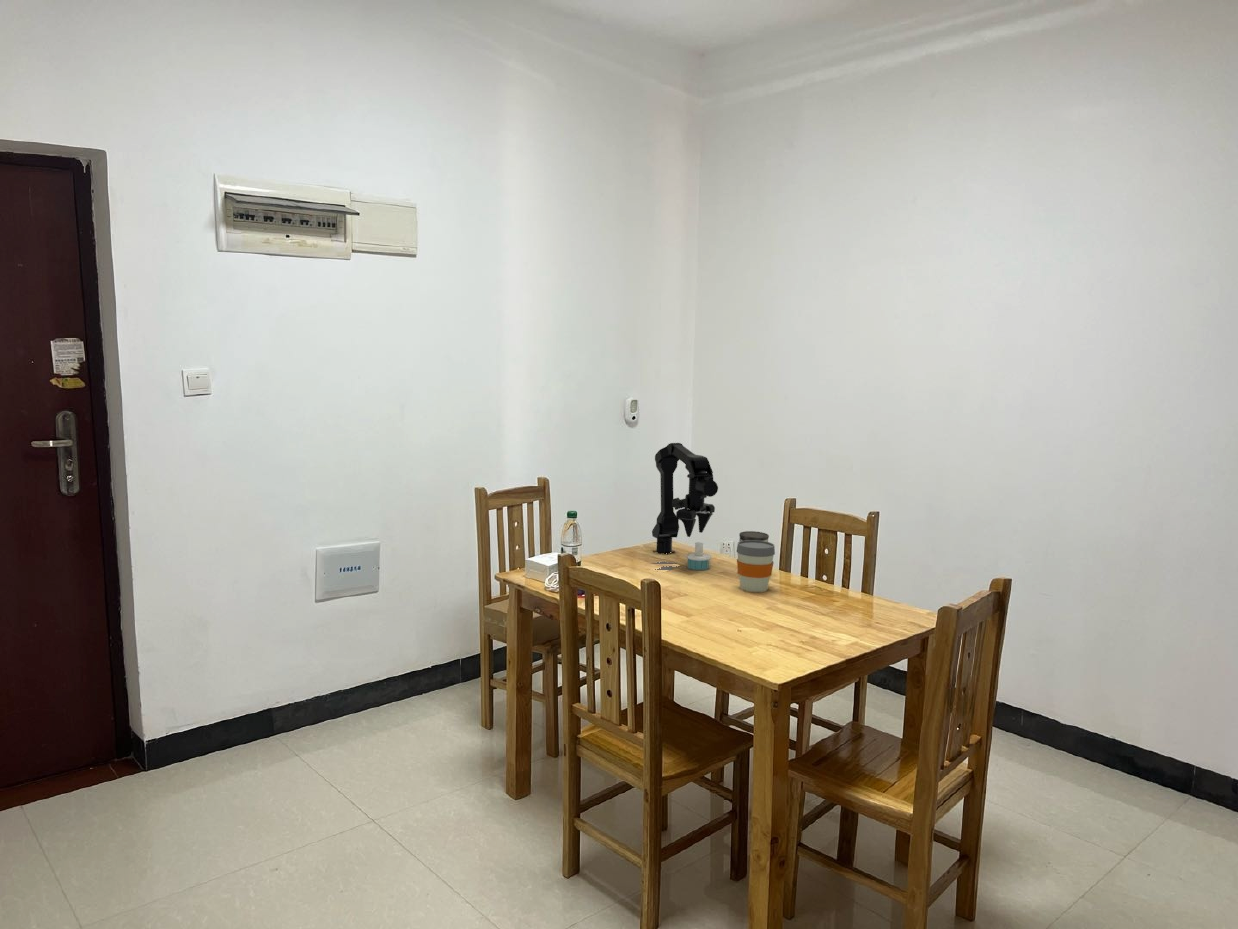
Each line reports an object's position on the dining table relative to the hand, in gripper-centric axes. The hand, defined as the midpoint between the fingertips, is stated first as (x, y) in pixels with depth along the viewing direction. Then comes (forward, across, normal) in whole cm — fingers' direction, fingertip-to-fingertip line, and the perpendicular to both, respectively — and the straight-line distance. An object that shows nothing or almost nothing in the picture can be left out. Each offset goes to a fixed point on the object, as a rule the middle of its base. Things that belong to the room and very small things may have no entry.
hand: (694, 534), depth 309 cm
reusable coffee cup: (+12, +11, +29) cm, 33 cm away
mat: (+12, +7, -9) cm, 17 cm away
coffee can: (+12, -7, +20) cm, 24 cm away
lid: (+8, 0, +2) cm, 8 cm away
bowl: (+12, 0, +2) cm, 12 cm away
